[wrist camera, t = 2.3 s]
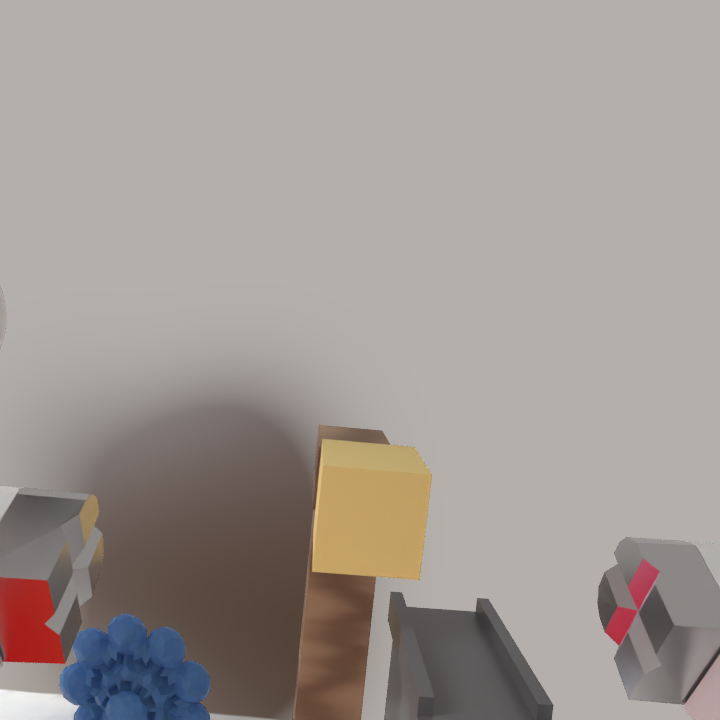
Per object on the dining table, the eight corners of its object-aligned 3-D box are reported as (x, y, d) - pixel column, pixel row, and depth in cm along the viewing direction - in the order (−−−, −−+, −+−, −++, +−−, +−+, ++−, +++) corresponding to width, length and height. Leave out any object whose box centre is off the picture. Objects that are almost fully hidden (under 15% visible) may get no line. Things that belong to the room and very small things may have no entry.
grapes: (27, 802, 46) (40, 637, 46) (66, 741, 53) (77, 596, 53) (194, 813, 47) (209, 650, 46) (211, 751, 54) (224, 608, 53)
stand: (245, 957, 37) (294, 452, 35) (263, 801, 49) (300, 419, 47) (369, 961, 37) (423, 463, 36) (357, 806, 49) (397, 427, 48)
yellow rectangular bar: (312, 572, 27) (323, 465, 26) (315, 465, 44) (321, 399, 43) (419, 579, 27) (431, 474, 27) (381, 471, 44) (388, 406, 43)
